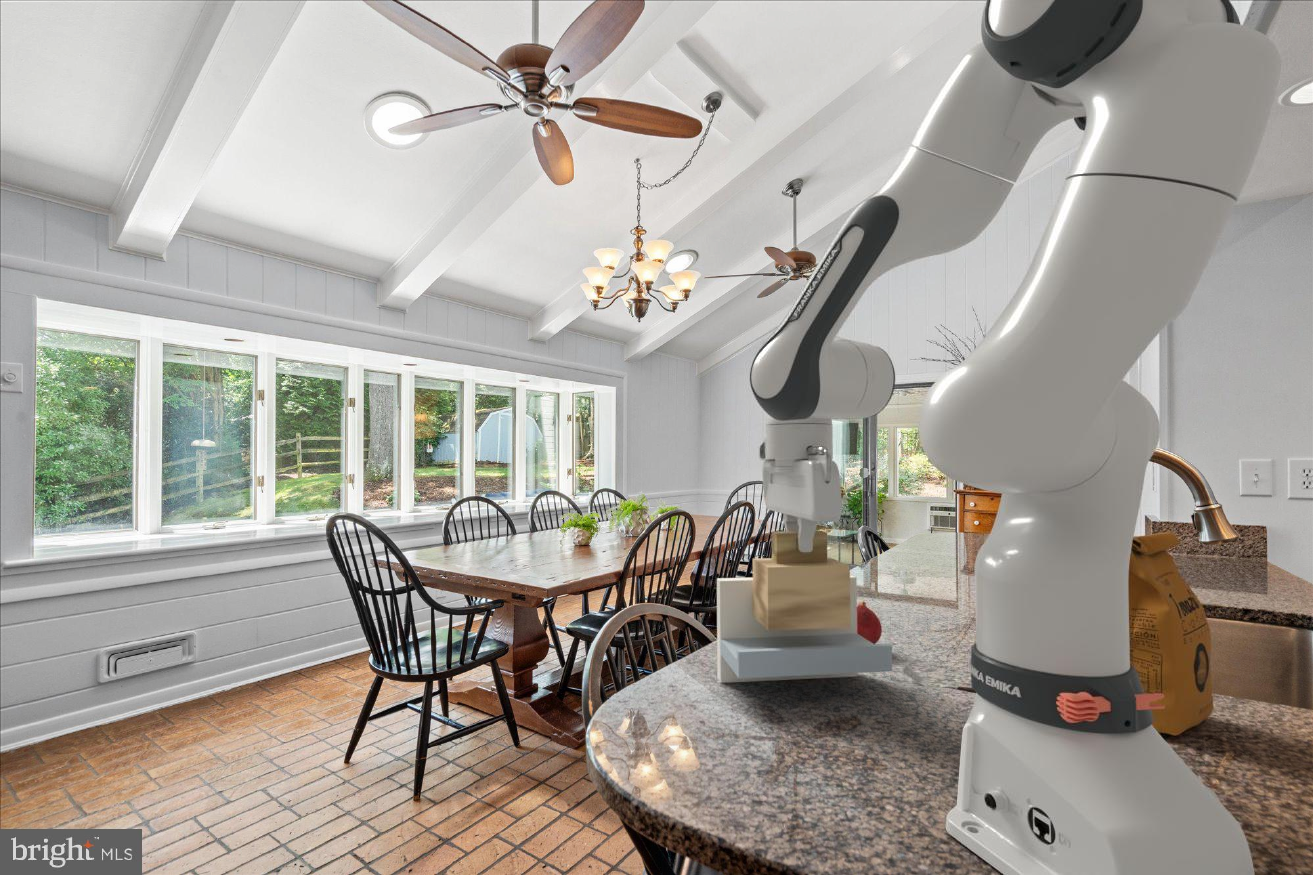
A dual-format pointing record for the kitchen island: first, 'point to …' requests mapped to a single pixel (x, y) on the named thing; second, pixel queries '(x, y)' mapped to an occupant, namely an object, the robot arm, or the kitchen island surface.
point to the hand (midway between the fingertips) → (799, 549)
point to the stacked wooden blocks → (800, 586)
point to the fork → (925, 682)
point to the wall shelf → (787, 643)
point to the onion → (868, 623)
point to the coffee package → (1168, 636)
